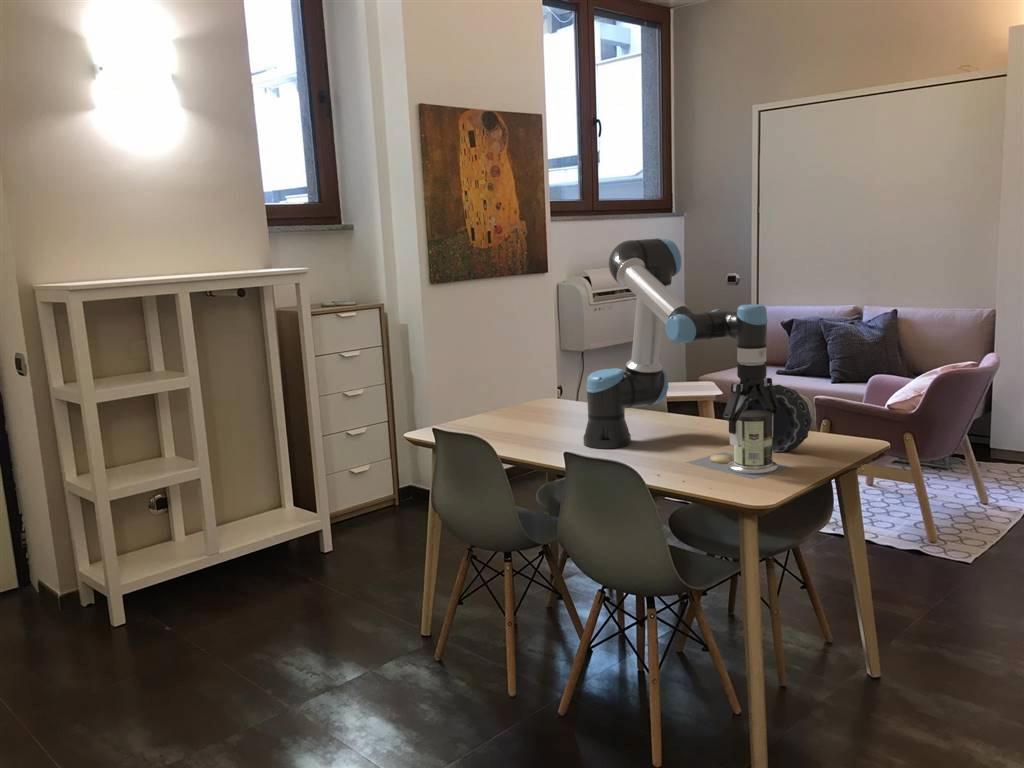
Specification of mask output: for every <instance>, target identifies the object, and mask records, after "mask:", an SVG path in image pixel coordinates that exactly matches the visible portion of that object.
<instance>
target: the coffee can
mask: <svg viewBox="0 0 1024 768" xmlns="http://www.w3.org/2000/svg"><path fill="white" fill-rule="evenodd" d="M772 417H773V414H772V413H771V412H768V411H762V410H744V411H742V412H741V414H740V416H739V418H738V420H737V421H739V422H740V446H735V445H733V454H734V465H735V466H737V467H740V468H746V469H763V468H768V467H771V466H772V465H773V463H772V461H773V452H772Z"/></svg>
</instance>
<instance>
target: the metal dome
mask: <svg viewBox="0 0 1024 768" xmlns="http://www.w3.org/2000/svg"><path fill="white" fill-rule="evenodd" d="M772 463H773V465H772V466H771V467H768V468H763V469H746V468H740V467H737V466H735V465H734V460H733V461H730V462H729V463H728V469H729V470H730V471H732V472H735V473H740V474H750V475H760V474H768V473H772V472H775V471H777V464H778V463H776V462H775V461H773V460H772ZM772 474H773V473H772Z"/></svg>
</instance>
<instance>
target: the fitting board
mask: <svg viewBox="0 0 1024 768" xmlns="http://www.w3.org/2000/svg"><path fill="white" fill-rule="evenodd" d="M733 460H734V453H730V452H725V451H723V452H719V453H716V454H713V455H709V456H704V457H700V458H697V459H693V460H689V461H685V463H686V464H690V465H694V466H699V467H702V468H706V469H711V470H714V471H719V472H722V473H727V474H732V475H735V476H738V477H739V476H740V477H743V478H747V479H753V480H755V479H759V478H761V477H765V476H768V475H769V476H770V475H773V474H775V473H779V472H782V471H785V470H789V469H792V468H793V467H792V466H789V465H785V464H779V463H776V464H777V471H775V472H772V473H768V474H760V475H750V474H740V473H735V472H732V471H730V470H729V469H728V463H729V462H730V461H733Z"/></svg>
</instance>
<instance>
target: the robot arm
mask: <svg viewBox="0 0 1024 768" xmlns="http://www.w3.org/2000/svg"><path fill="white" fill-rule="evenodd" d="M681 255H682V254H681V251H680V250H679V248H678V246H677V244H676V243H675V242H674V241H673V240H671V239H669V238H648V239H647V238H646V239H636V240H635V239H634V240H632V239H629V240H626V241H622V242H620V243H619V244H617V245H616V246H615V247H613V250H612V251H611V252H610V255H609V259H608V269H609V273H610V274H611V276H612V278H613V279H614V280H615V282H617V284H618V285H620V286H621V287H623V288H628V289H629V290H630V291H631V292H632V293H633V294H634V295H635V296H636V304H635V305H636V306H635V316H634V326H633V337H632V349H631V359H630V360H628V361H626V364H625V371H624V370H623V369H621V368H615V367H614V368H604V369H599V370H597V371H594V372H592V373H590V374H589V375H588V376H587V379H586V395H587V401H586V402H587V419H588V420H587V423H586V427H585V428H586V429H585V432H584V435H583V445H584V446H585V447H588V448H595V449H616V448H618V449H619V448H623V447H627V446H629V445H631V443H632V436H631V433H630V430H629V428H628V424H627V422H626V417H625V414H626V413H625V409H631V408H637V407H638V408H639V407H646V406H647V407H648V406H649V407H650V406H652V405H655V404H659V403H660V402H662V401H663V400H664V399H665V398H666V396H667V394H668V391H669V390H668V389H669V380H668V374H667V373H666V371H665V369H663V365H662V364H661V363H660V362H659V358H660V357H659V356H660V347H661V339H662V329H663V328H662V327H663V323H664V324H665V334H667V338H668V340H670V341H671V342H672V343H676V344H687V343H688V344H689V343H693V342H700V341H710V340H720V339H736V340H737V344H736V346H737V350H736V351H737V352H736V353H737V354H736V361H737V362H738V364H737V371H736V372H737V374H736V376H737V378H739V383H732V384H731V386H730V392H729V397H728V398H727V399H728V400H727V401H726V405H725V409H724V412H723V415H722V419H723V420H725V421H728V433H729V445H731V446H734V445H735V446H740V422H739V421H737V420H738V418H739V416H740V414H741V412H742V410H743V408H744V407H745V405H746V403H747V401H749V400H750V398H754V397H757V398H758V400H759V401H760V403H761V404H762V406H763V408H764V409H765V411H768V412H771V413H772V414H773V417H772V437H773V423H774V413H777V412H778V409H779V408H780V406H779V403H778V400H777V397H776V395H775V392H774V389H773V379H772V377H767V364H766V362H767V344H768V341H767V340H768V316H767V315H768V314H767V307H766V306H765V305H763V304H752V303H750V304H740V305H739V306H738V307H737V310H732V309H731V310H729V309H726V308H722V309H717V308H716V309H713V310H711V311H707V312H706V311H705V312H694V311H693V310H692V309H691V308H689V306H687V304H685V303H684V302H683V301H682V300H681V299H680V298H678V297H677V295H676V294H674V293H673V292H672V291H671V290H670V289H669V287H671V286H672V281H673V280H672V278H673V277H675V276H677V275H678V274H679V272H680V271H681V268H682V256H681Z"/></svg>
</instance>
